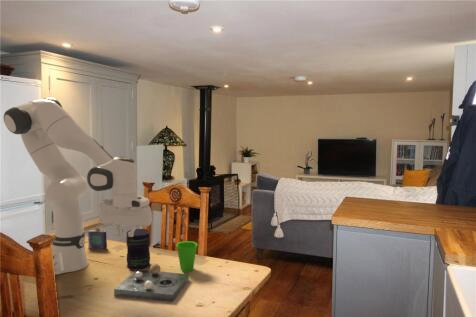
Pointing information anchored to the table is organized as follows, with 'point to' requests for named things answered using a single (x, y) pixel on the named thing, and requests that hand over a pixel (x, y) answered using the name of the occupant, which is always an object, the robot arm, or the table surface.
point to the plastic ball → (148, 284)
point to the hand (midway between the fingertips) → (125, 236)
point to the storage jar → (138, 249)
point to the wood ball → (155, 269)
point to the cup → (186, 255)
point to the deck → (162, 289)
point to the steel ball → (138, 275)
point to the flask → (97, 239)
